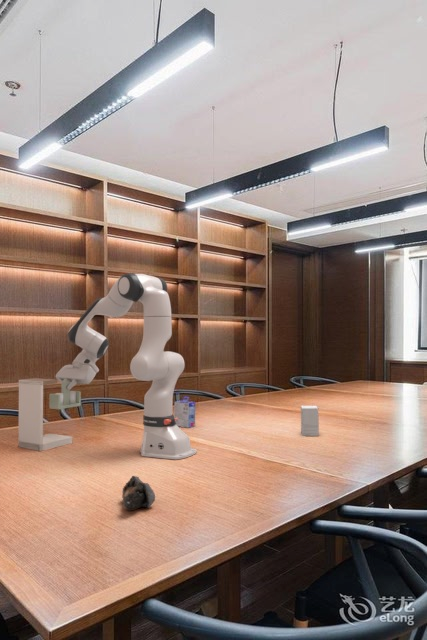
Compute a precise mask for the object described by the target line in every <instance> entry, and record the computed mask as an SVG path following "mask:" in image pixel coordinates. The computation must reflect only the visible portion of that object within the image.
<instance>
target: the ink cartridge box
mask: <svg viewBox="0 0 427 640" xmlns="http://www.w3.org/2000/svg"><path fill="white" fill-rule="evenodd" d="M189 400H190V396H186V395H185V396H183V397H182V400H177V401H174V405H173V406H174V410H173V411H174V412H173V415H174V418H177V417H178V418H177V419H176V420H177V421H176V425H177V426H178V427H179V428H180V427H181V428H187V429H188V428H189V429H190V428H195V427H196V401H189Z"/></svg>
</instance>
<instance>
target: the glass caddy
mask: <svg viewBox="0 0 427 640" xmlns="http://www.w3.org/2000/svg"><path fill="white" fill-rule="evenodd" d="M69 384H70V382H69V381H62V382H61V386H60V390H61V392H56V393H49V400H48V401H49V409H53V410H63V409H69V408H75V407H81V406H82V403H81V400H82V395H81V394H82V391H79V390H67V389H66V386H67V385H69Z"/></svg>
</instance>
